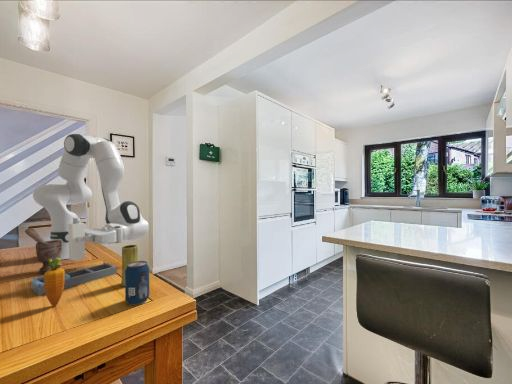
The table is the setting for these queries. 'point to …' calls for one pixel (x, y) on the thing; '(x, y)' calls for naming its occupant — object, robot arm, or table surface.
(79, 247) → the capped white pillar
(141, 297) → the soda can
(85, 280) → the ladder grid frame
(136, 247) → the vase
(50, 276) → the carrot
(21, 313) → the table surface
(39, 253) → the mortar and pestle
